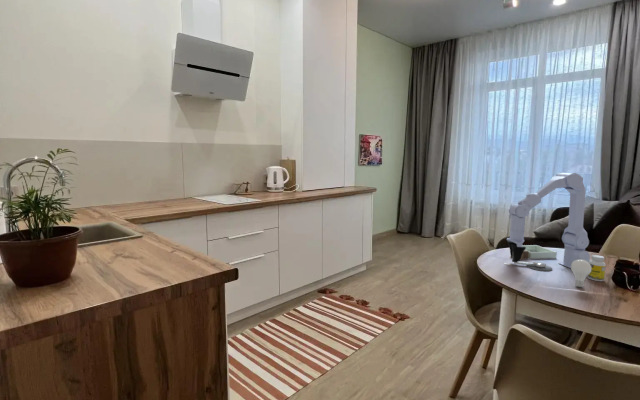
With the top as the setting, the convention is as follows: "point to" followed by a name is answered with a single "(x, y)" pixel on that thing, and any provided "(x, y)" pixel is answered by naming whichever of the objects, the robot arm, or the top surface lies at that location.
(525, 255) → the brown wooden block
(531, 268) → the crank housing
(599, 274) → the supplement bottle
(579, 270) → the lightbulb
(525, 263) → the crank
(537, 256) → the tray
